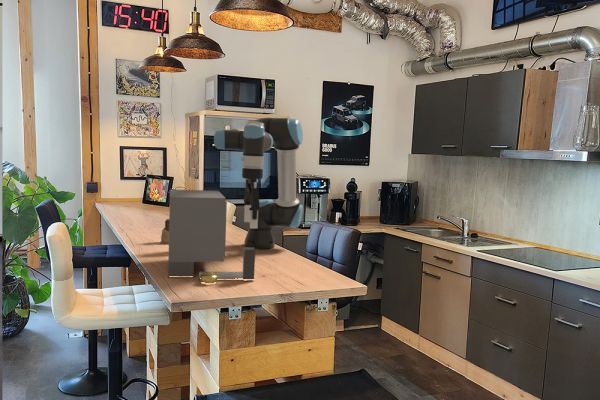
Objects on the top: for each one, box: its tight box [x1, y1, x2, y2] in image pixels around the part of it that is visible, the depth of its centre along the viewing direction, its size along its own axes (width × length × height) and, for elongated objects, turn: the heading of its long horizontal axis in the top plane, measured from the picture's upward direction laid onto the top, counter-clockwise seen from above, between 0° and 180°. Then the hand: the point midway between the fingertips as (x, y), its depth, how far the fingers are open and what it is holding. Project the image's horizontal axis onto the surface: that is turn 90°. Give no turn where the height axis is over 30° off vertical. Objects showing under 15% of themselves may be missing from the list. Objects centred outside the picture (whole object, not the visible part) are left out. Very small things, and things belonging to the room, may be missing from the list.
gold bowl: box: [200, 273, 218, 283], centre depth 177 cm, size 6×6×3 cm
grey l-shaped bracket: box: [198, 246, 256, 280], centre depth 182 cm, size 20×4×12 cm, turn 101°
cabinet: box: [167, 189, 228, 277], centre depth 196 cm, size 22×28×30 cm
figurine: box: [160, 218, 169, 245], centre depth 242 cm, size 7×7×12 cm
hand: (250, 225), depth 182 cm, fingers open, 13 cm apart
